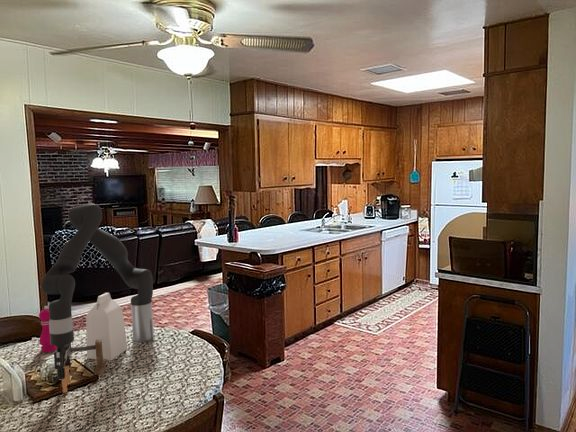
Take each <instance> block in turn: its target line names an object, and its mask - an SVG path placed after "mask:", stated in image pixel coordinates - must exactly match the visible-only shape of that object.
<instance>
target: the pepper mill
mask: <svg viewBox="0 0 576 432" xmlns="http://www.w3.org/2000/svg"><path fill="white" fill-rule="evenodd" d="M38 318H39V320H41V321H40V325H41V327H42V330H41V334H40V337H39V340H38V341H39V344H40V345H41V349H40V350H41V352H42V353H50V352H54V351H56V349H57V346H53V345H51V343H50V330H49V322H50V317H49V305H44V307H43V309H42V310H41V311H40V312H39V314H38Z"/></svg>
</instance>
